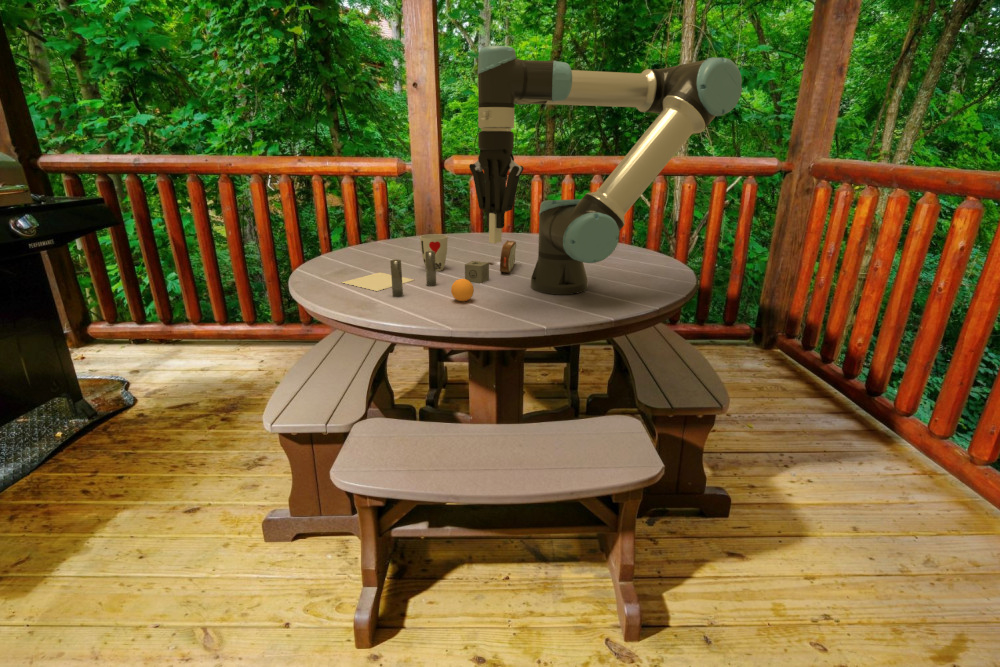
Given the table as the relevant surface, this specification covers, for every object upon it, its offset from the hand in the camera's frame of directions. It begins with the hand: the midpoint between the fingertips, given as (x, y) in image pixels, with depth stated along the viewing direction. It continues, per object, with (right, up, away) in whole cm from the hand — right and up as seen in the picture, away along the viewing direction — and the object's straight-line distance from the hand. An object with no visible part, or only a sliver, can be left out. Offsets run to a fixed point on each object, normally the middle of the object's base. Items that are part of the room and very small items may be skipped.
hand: (495, 242), depth 119 cm
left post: (-25, -11, +15) cm, 31 cm away
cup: (-19, -1, +41) cm, 45 cm away
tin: (+4, -2, +41) cm, 41 cm away
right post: (-18, -7, +24) cm, 31 cm away
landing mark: (-33, -6, +27) cm, 43 cm away
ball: (-8, -10, +10) cm, 16 cm away
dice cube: (-5, -6, +29) cm, 30 cm away
